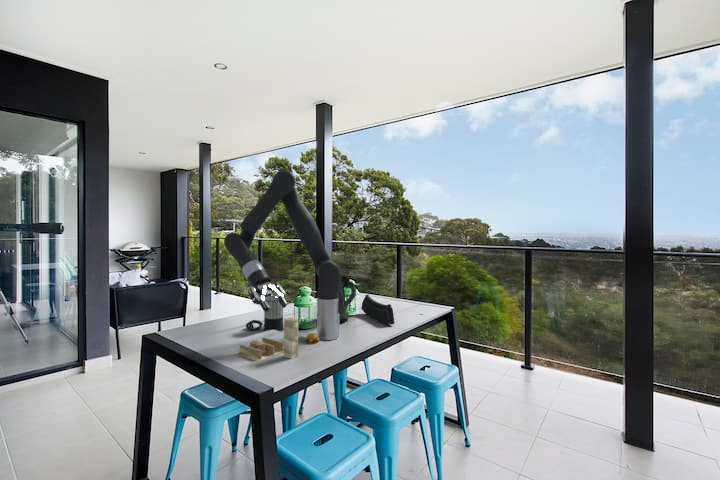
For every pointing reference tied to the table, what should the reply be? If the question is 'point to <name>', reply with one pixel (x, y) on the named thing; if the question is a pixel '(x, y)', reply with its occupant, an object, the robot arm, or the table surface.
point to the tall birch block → (291, 338)
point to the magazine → (378, 310)
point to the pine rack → (256, 354)
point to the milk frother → (270, 317)
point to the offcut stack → (259, 346)
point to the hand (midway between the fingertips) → (276, 308)
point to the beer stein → (341, 301)
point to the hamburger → (312, 338)
